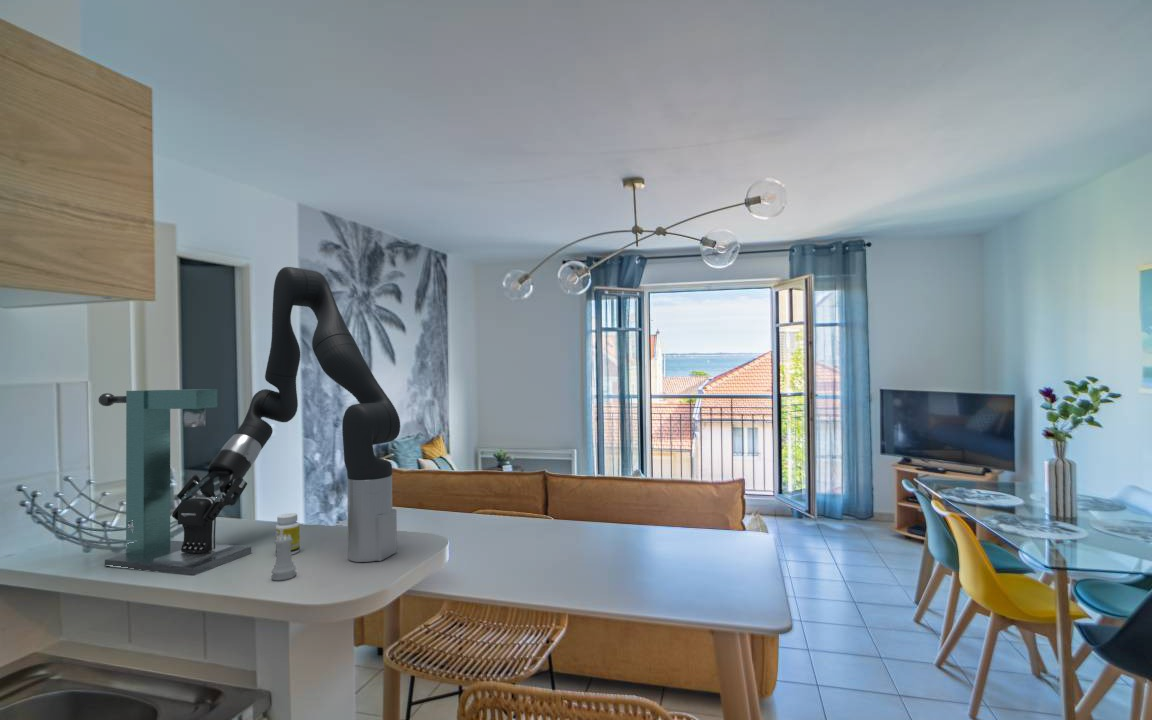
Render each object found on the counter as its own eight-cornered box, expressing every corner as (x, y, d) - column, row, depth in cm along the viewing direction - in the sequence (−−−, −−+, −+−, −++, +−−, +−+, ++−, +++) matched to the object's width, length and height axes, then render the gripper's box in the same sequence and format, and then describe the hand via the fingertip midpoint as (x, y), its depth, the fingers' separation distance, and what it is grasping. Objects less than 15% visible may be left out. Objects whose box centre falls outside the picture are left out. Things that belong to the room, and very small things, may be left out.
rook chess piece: (290, 571, 113) (290, 531, 113) (300, 576, 110) (300, 535, 110) (267, 578, 109) (266, 537, 110) (276, 583, 107) (276, 540, 107)
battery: (174, 554, 120) (174, 500, 120) (190, 548, 123) (190, 496, 124) (202, 555, 118) (201, 501, 119) (216, 549, 122) (216, 497, 122)
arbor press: (251, 553, 125) (250, 388, 126) (193, 575, 112) (193, 390, 113) (133, 543, 134) (133, 390, 135) (66, 563, 121) (67, 392, 122)
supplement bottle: (304, 549, 127) (303, 512, 127) (291, 556, 123) (291, 517, 123) (284, 549, 128) (284, 512, 128) (270, 556, 123) (270, 517, 123)
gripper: (201, 447, 131) (153, 508, 119) (251, 448, 127) (206, 511, 116) (221, 466, 136) (177, 527, 124) (270, 468, 132) (228, 530, 121)
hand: (191, 519), depth 120 cm, fingers open, 8 cm apart
